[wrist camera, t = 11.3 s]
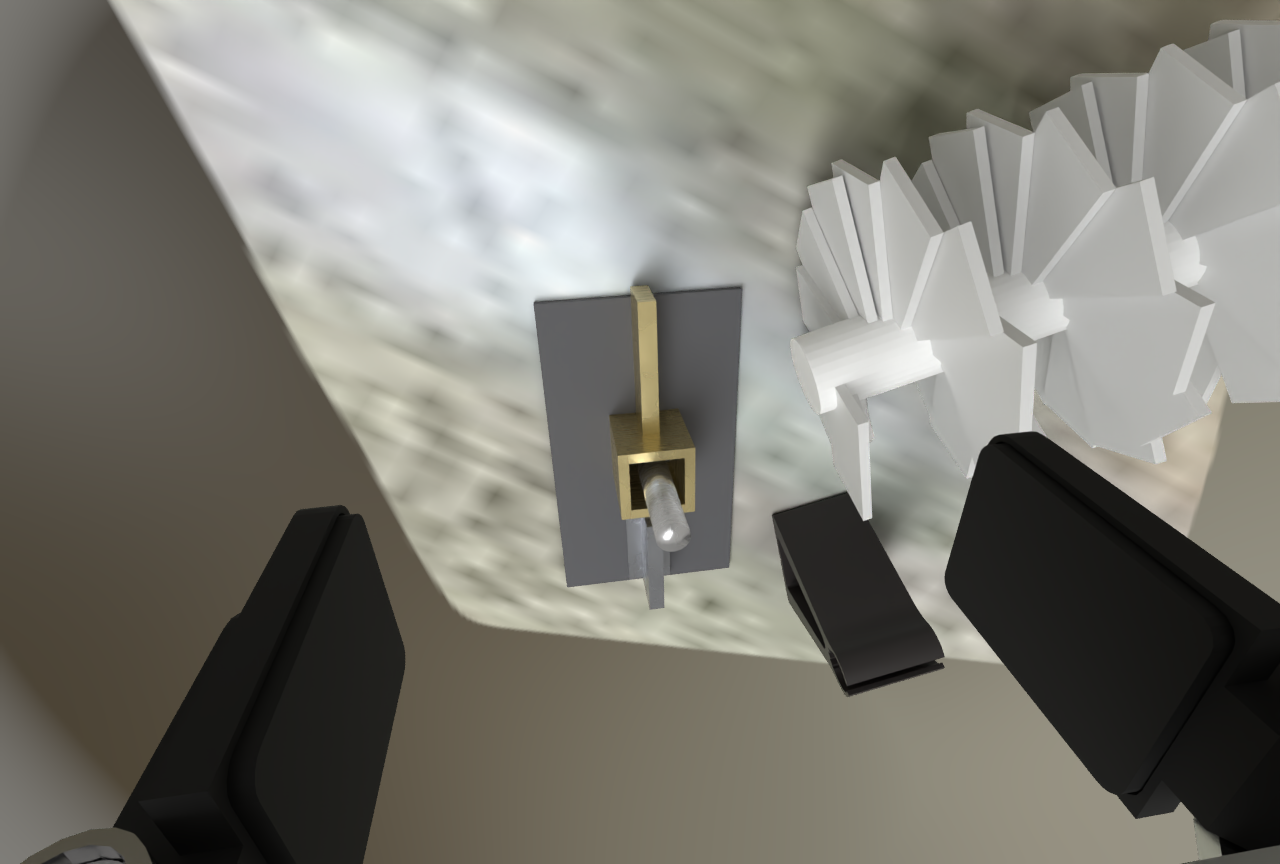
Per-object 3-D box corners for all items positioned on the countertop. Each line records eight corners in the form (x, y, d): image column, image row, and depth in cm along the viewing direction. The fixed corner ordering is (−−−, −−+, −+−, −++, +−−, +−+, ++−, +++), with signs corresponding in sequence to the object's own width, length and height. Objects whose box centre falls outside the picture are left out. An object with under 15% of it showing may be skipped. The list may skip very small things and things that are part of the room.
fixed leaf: (620, 431, 40) (643, 526, 31) (667, 426, 40) (702, 519, 31) (628, 576, 45) (649, 691, 37) (669, 571, 46) (699, 684, 37)
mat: (533, 302, 35) (533, 304, 35) (740, 287, 37) (741, 289, 36) (567, 583, 46) (567, 587, 45) (727, 563, 47) (729, 567, 46)
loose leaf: (600, 288, 35) (608, 316, 31) (677, 283, 36) (696, 309, 31) (613, 474, 41) (621, 520, 37) (678, 467, 42) (695, 511, 37)
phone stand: (771, 512, 45) (841, 639, 35) (851, 489, 45) (944, 609, 35) (787, 600, 50) (853, 735, 39) (860, 579, 50) (945, 709, 39)
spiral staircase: (730, 237, 39) (1131, 87, 37) (819, 499, 40) (1212, 369, 38) (775, 122, 21) (1568, -187, 19) (934, 604, 22) (1695, 366, 20)
